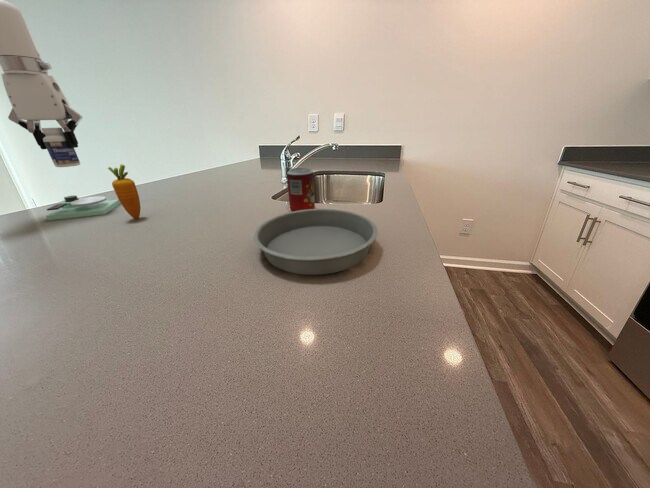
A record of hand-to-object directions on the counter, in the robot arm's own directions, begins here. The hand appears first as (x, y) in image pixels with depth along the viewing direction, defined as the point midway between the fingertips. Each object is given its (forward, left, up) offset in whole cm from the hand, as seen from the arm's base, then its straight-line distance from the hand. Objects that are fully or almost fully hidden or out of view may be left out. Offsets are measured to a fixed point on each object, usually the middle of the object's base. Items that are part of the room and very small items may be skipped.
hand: (60, 147), depth 70 cm
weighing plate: (0, +2, -16) cm, 16 cm away
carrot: (+16, -12, -19) cm, 27 cm away
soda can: (+61, -24, -19) cm, 68 cm away
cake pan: (+59, -46, -19) cm, 77 cm away
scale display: (-7, -1, -16) cm, 17 cm away
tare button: (-7, +7, -16) cm, 19 cm away
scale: (-2, +3, -19) cm, 19 cm away
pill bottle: (0, 0, -5) cm, 5 cm away
